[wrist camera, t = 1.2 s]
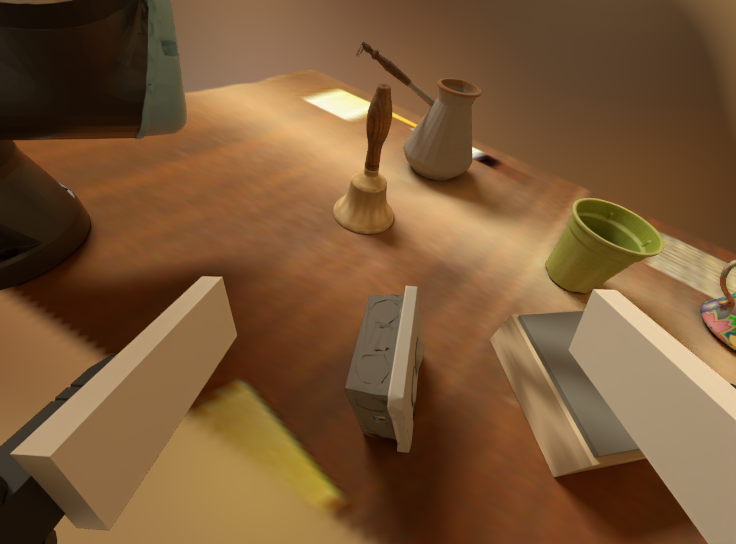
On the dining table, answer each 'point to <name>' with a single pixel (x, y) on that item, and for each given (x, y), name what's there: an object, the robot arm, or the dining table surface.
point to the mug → (722, 312)
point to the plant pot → (600, 245)
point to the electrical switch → (387, 367)
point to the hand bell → (369, 176)
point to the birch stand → (560, 394)
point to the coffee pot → (438, 125)
